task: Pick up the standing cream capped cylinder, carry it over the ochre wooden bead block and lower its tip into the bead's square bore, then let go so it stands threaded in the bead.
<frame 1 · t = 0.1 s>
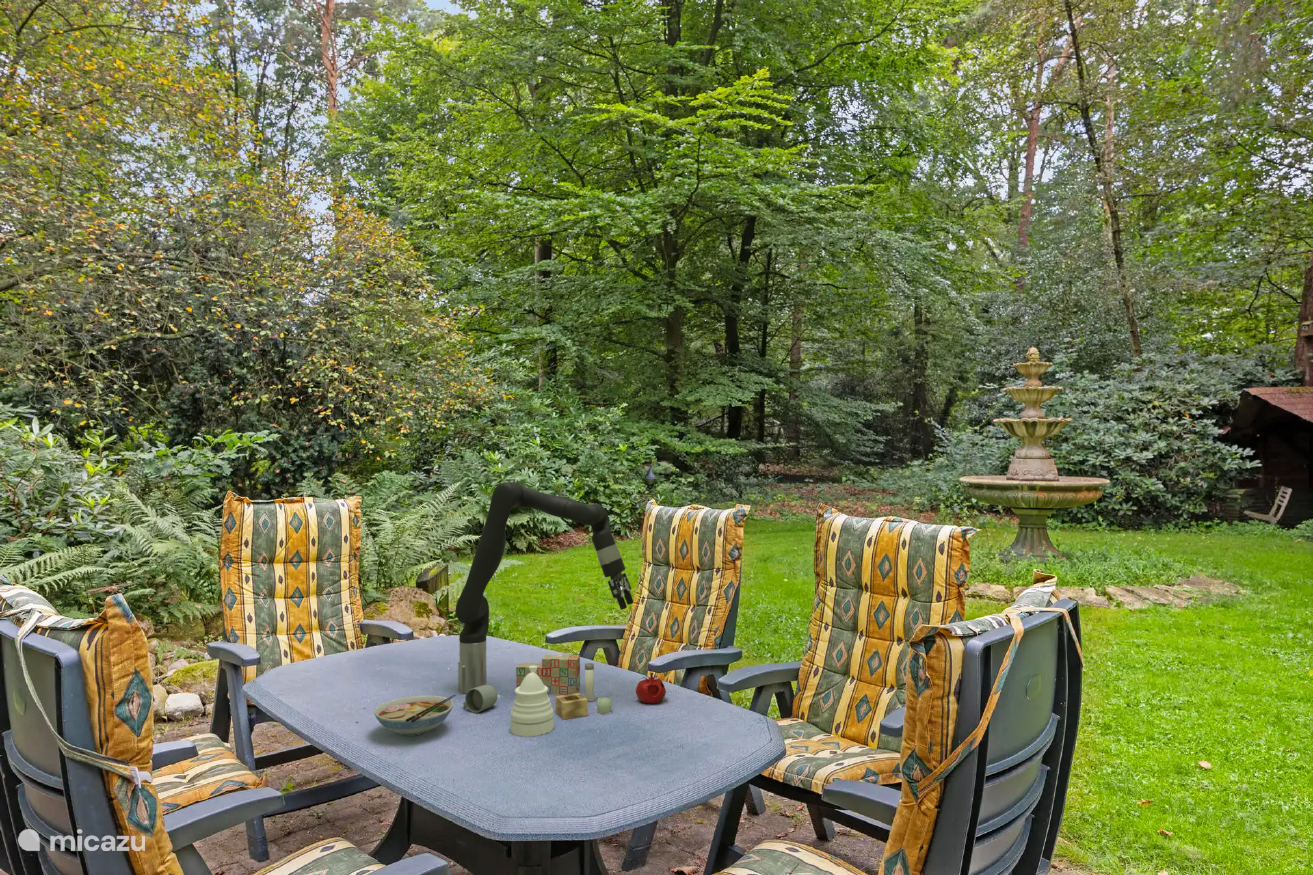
hand: (627, 606, 258), 31 cm above the table, tool tilted 20°, fingers open, 8 cm apart
stack of blocks: (548, 692, 269), on the table
pomegranate: (651, 701, 257), on the table
honey pot: (532, 729, 232), on the table
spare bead: (604, 711, 247), on the table
cream capped cylinder: (589, 700, 258), on the table
bead block: (571, 713, 245), on the table
ramen bowl: (414, 732, 230), on the table
ceramic mug: (478, 709, 251), on the table
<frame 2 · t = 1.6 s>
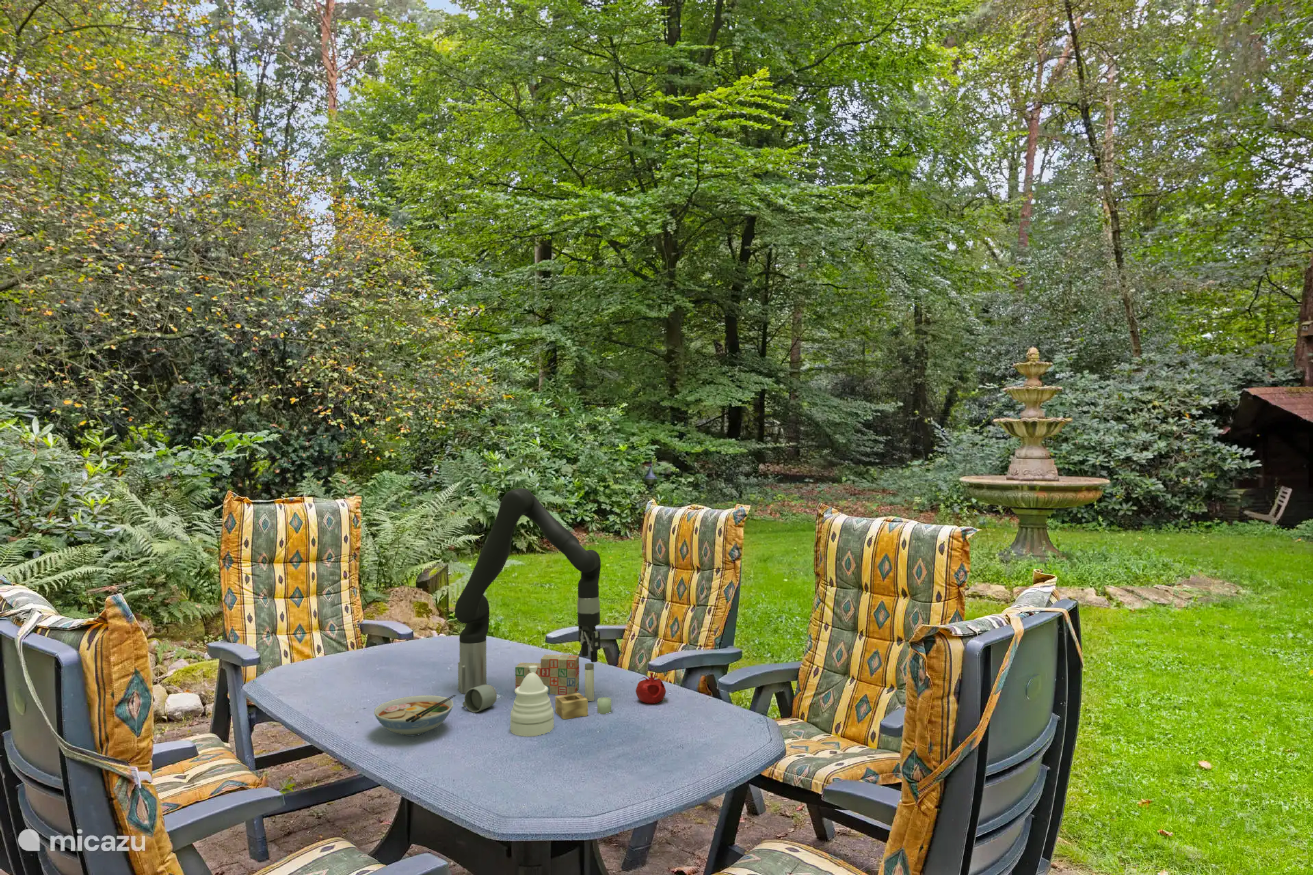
hand: (589, 659, 259), 14 cm above the table, tool pointing down, fingers open, 8 cm apart
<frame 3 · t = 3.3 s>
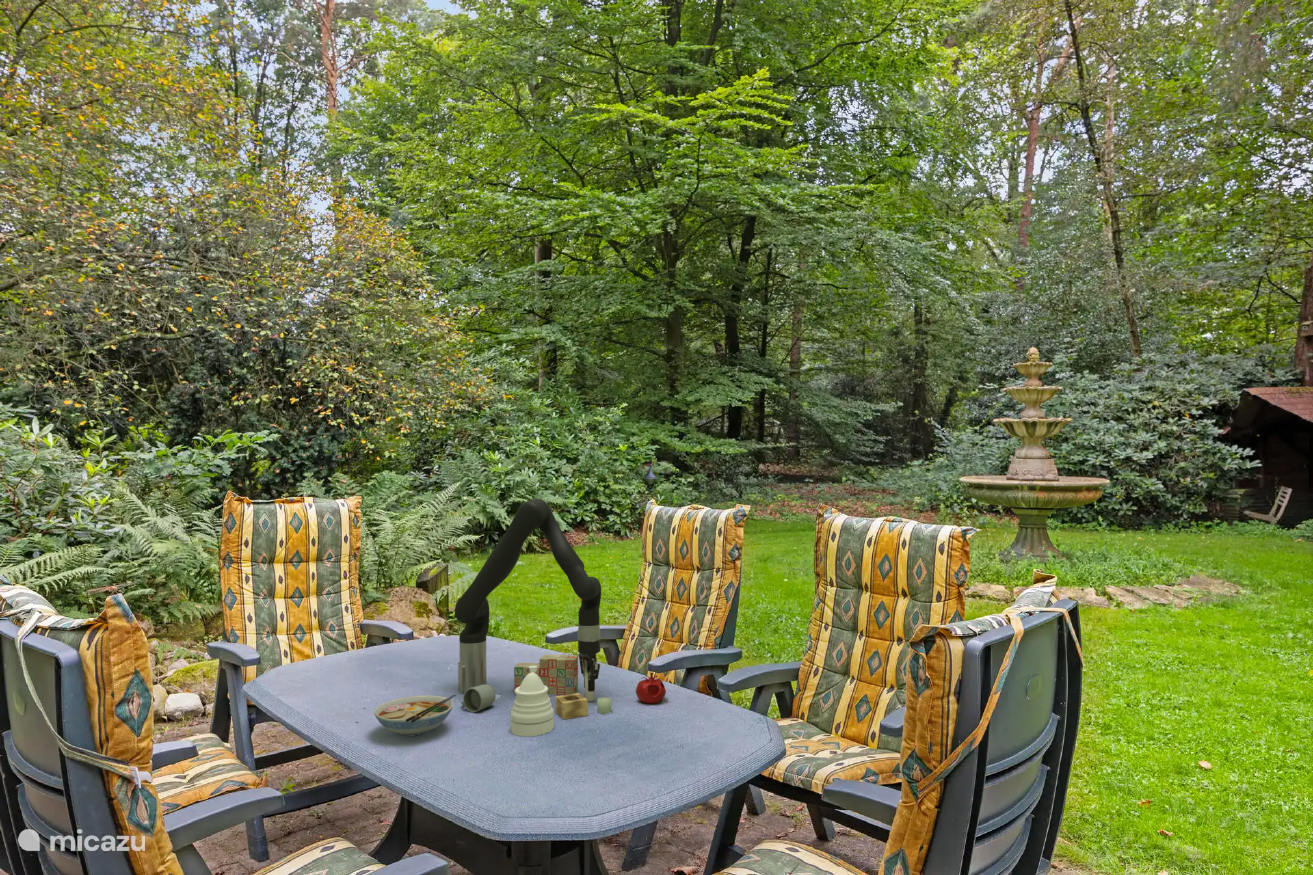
hand: (589, 689, 258), 4 cm above the table, tool pointing down, fingers closed on cream capped cylinder, 3 cm apart
cream capped cylinder: (589, 700, 258), on the table, touching gripper
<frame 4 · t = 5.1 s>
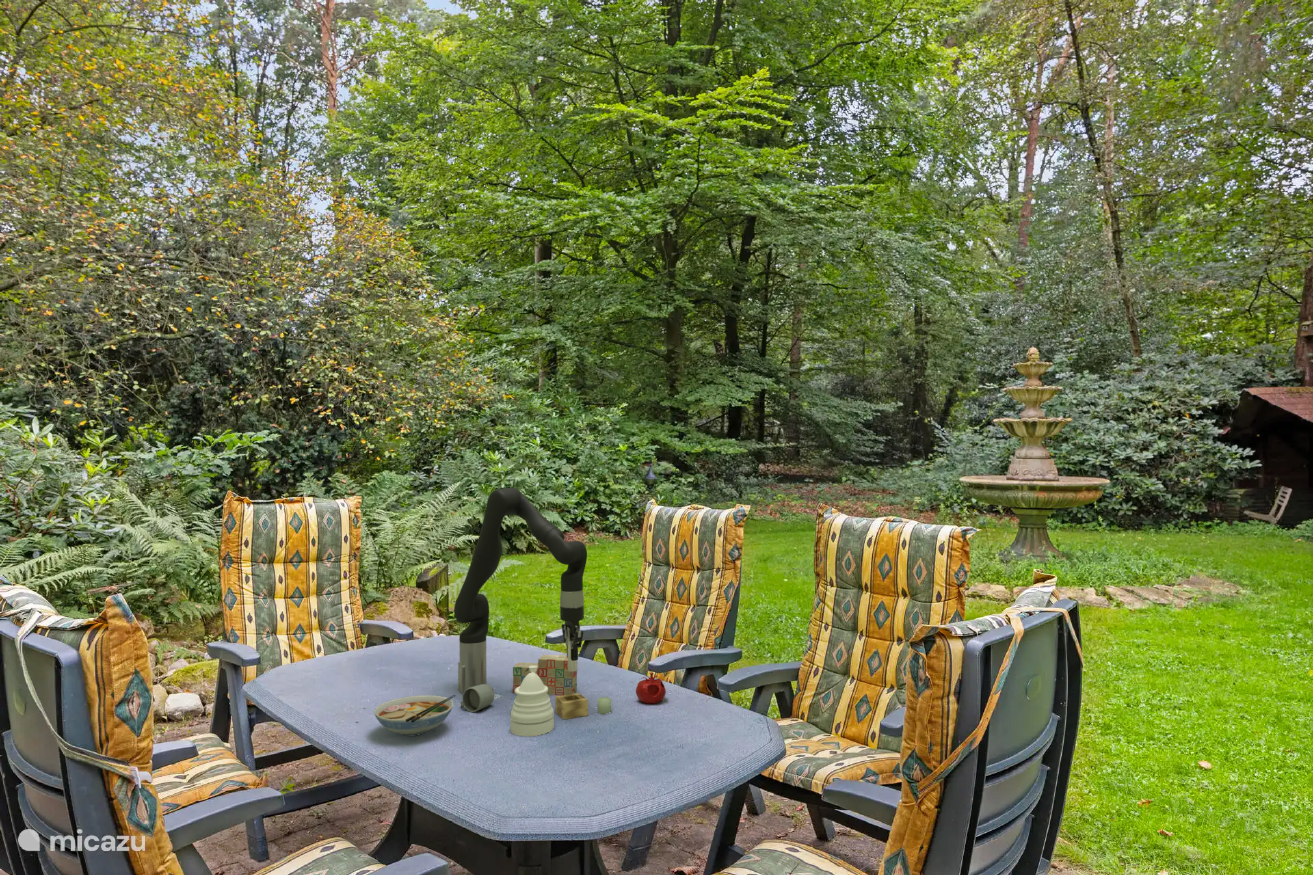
hand: (572, 658, 246), 17 cm above the table, tool pointing down, fingers closed on cream capped cylinder, 3 cm apart
cream capped cylinder: (572, 670, 246), point 14 cm above the table, touching gripper
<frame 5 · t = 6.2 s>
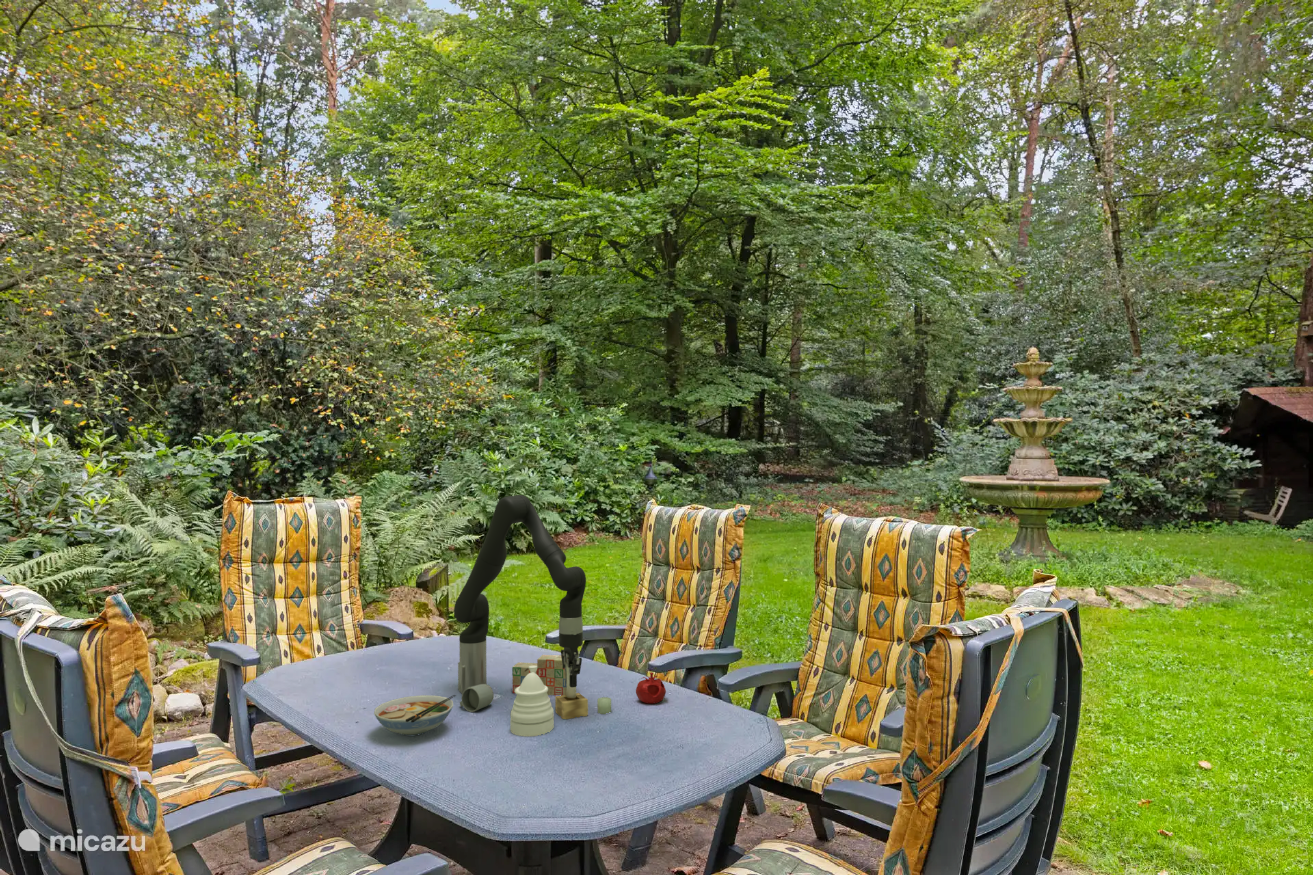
hand: (571, 684, 245), 9 cm above the table, tool pointing down, fingers closed on cream capped cylinder, 3 cm apart
cream capped cylinder: (571, 696, 245), point 5 cm above the table, touching gripper
when the fingers open (6 cm above the table, at t = 7.0 s): cream capped cylinder drops 2 cm, resting in bead block.
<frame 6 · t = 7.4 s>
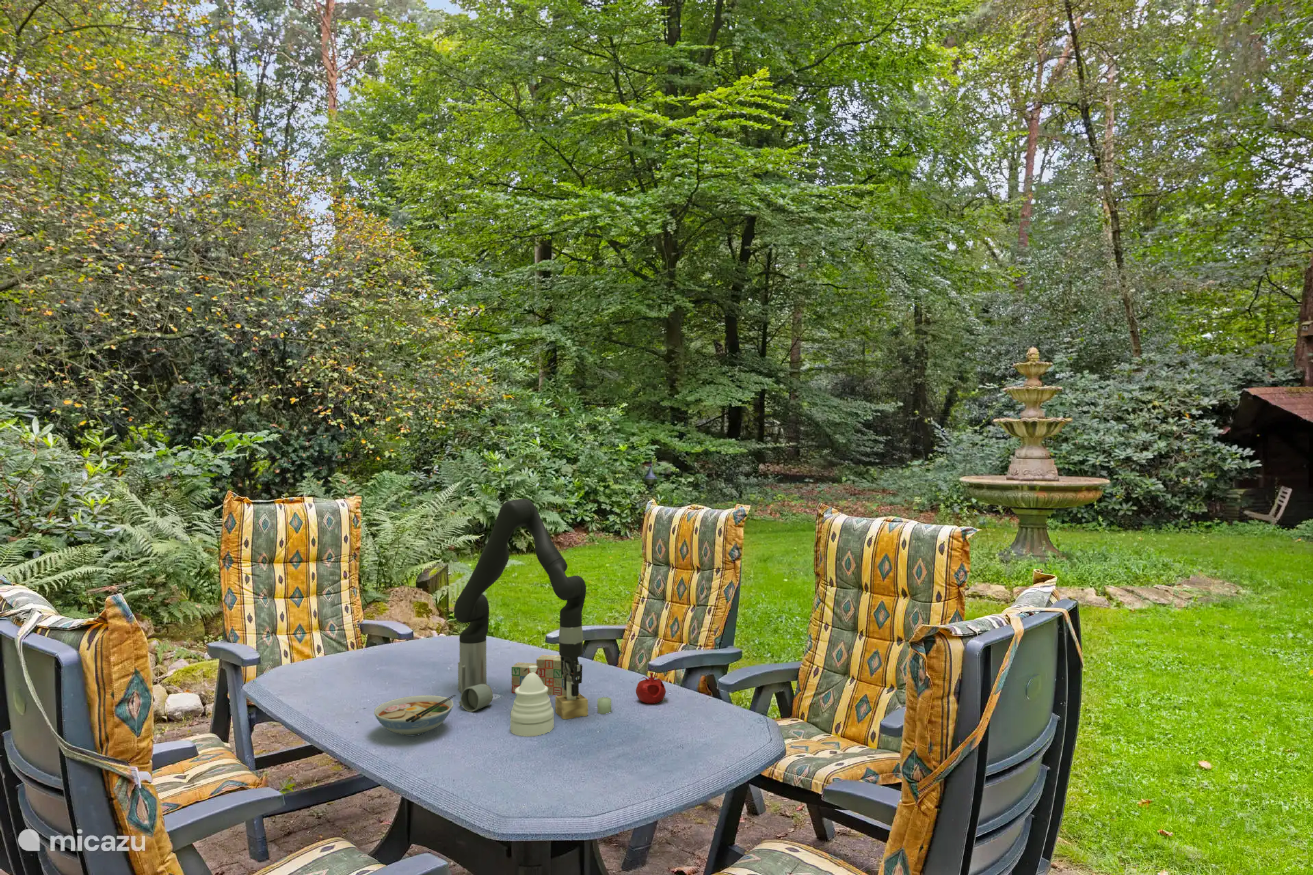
hand: (571, 692, 245), 7 cm above the table, tool pointing down, fingers open, 6 cm apart
cream capped cylinder: (571, 713, 245), resting in bead block
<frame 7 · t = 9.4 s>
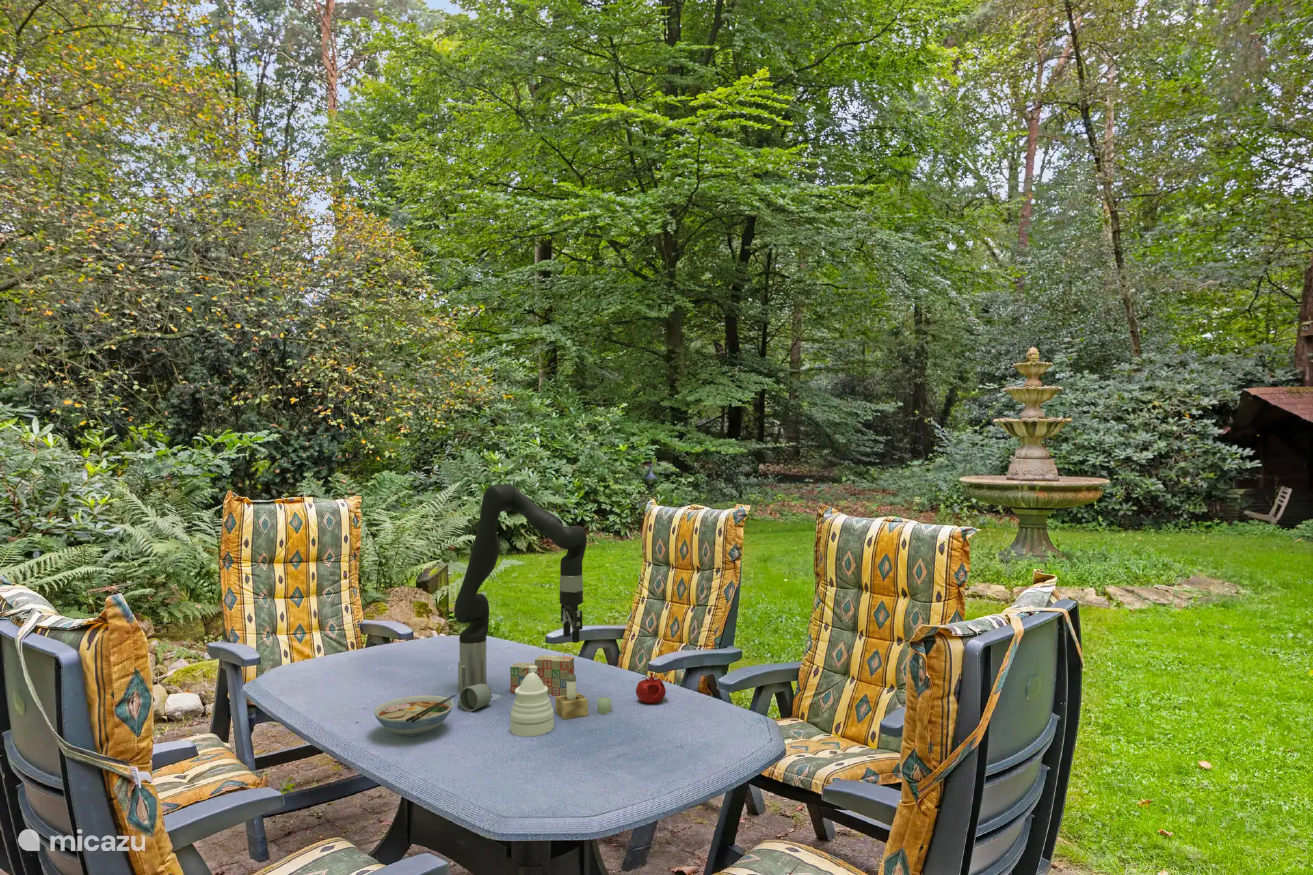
hand: (571, 639, 248), 23 cm above the table, tool pointing down, fingers open, 8 cm apart
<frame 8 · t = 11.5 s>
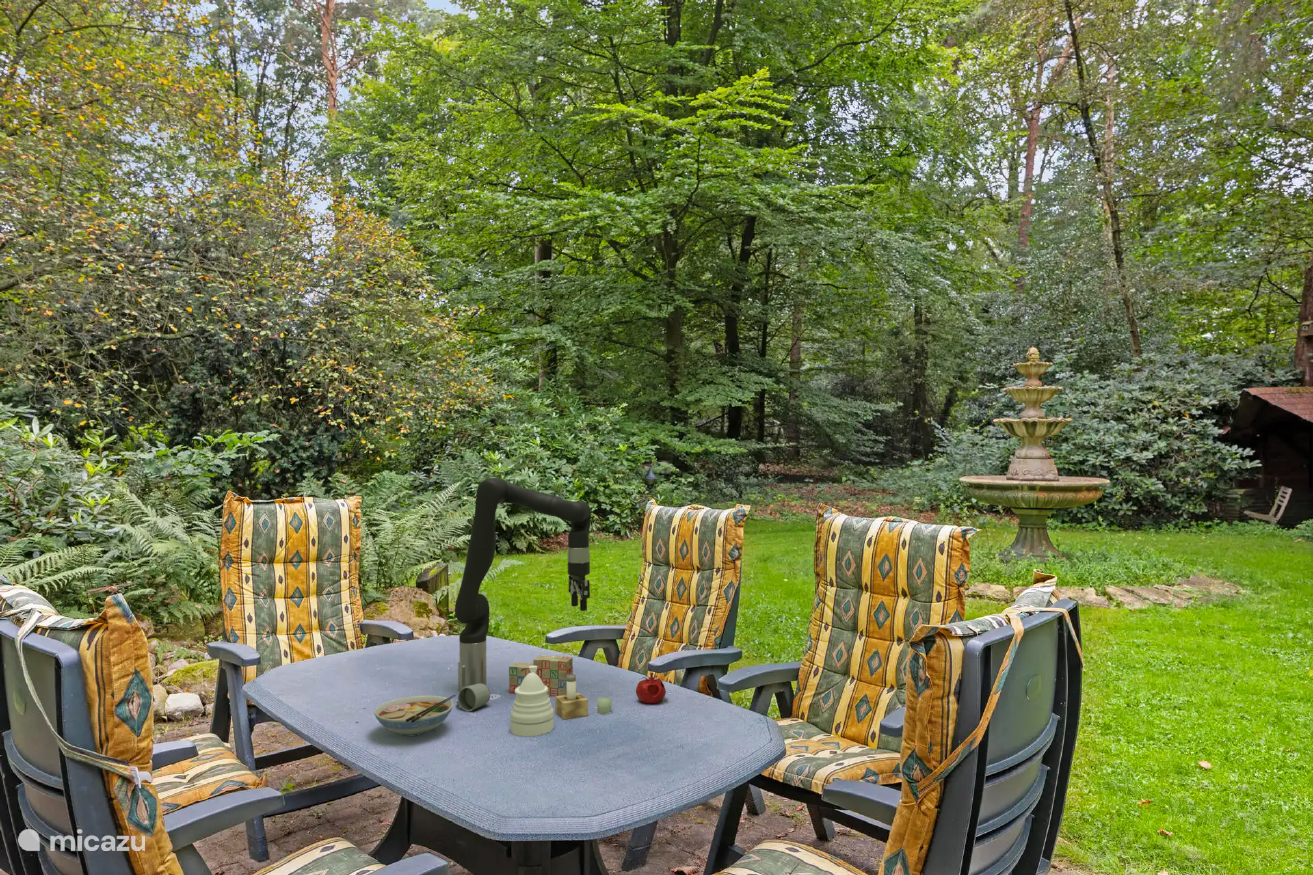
hand: (579, 608, 262), 30 cm above the table, tool pointing down, fingers open, 8 cm apart
at the end: cream capped cylinder 0.0 cm off-centre on the bead block, point 0.0 cm above the bead block's base; cream capped cylinder tilted 0°; the gripper is holding nothing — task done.
